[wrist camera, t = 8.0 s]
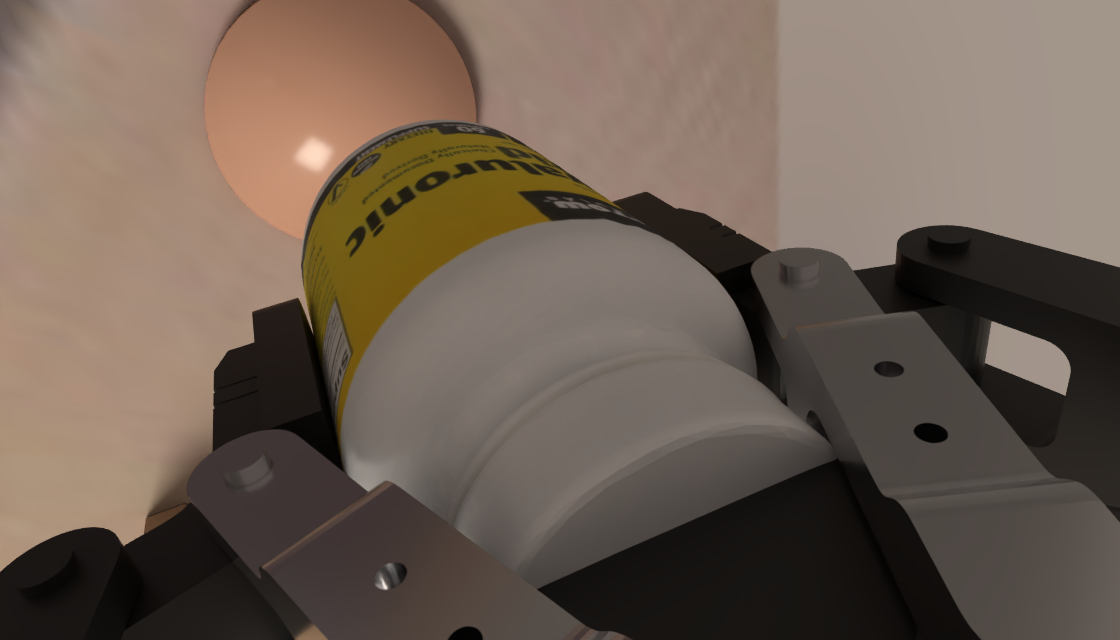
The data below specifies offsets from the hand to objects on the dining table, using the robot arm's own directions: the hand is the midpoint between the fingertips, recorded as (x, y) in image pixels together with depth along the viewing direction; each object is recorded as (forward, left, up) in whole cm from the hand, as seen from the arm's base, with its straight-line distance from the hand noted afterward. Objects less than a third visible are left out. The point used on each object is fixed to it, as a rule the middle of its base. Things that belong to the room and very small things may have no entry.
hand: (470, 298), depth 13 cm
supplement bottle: (0, 0, -3) cm, 3 cm away
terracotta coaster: (0, 0, -16) cm, 16 cm away
